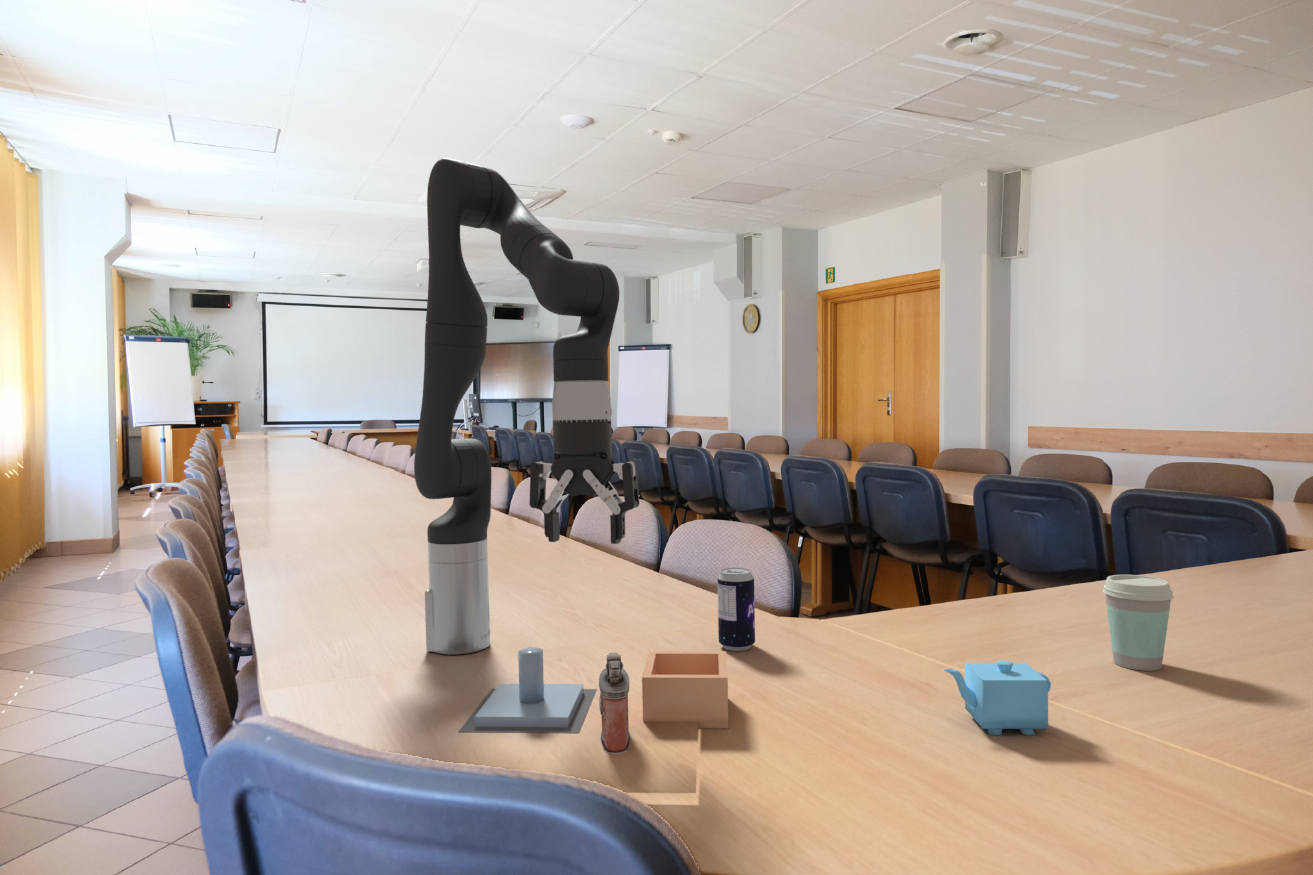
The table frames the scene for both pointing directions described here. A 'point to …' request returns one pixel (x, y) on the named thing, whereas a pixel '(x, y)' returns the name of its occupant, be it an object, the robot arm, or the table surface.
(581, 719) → the mat
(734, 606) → the beverage can
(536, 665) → the lid
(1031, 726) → the teapot
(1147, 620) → the coffee cup
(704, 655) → the tan open box
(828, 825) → the table surface
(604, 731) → the lighter
